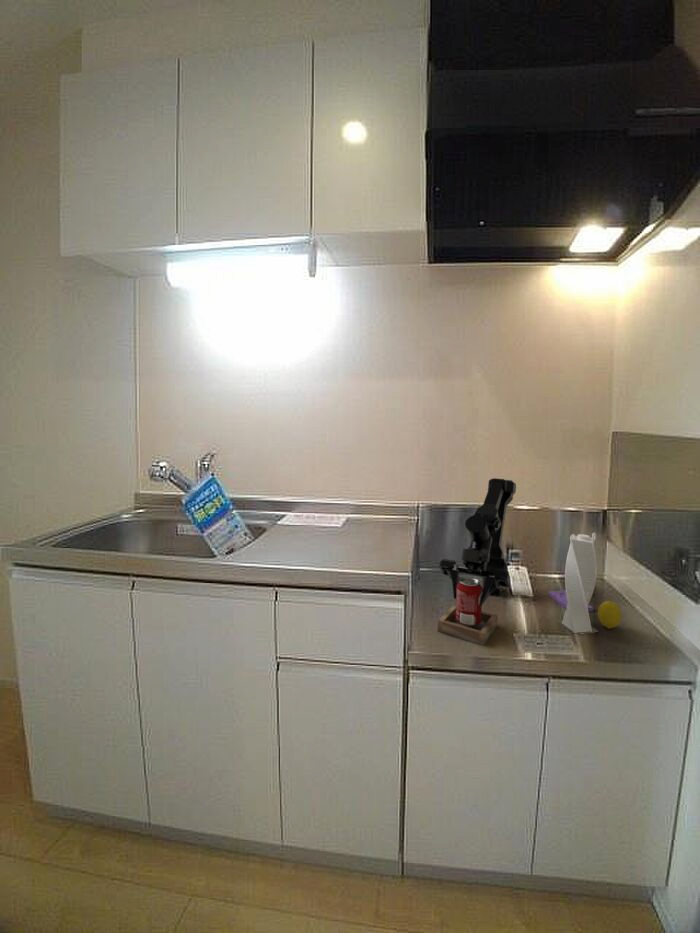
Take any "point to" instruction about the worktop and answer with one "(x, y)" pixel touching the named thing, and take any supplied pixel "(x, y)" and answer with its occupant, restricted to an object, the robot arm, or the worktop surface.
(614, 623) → the lemon
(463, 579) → the soda can
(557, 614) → the worktop surface
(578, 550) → the skyscraper
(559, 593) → the sponges
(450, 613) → the wooden square tray
